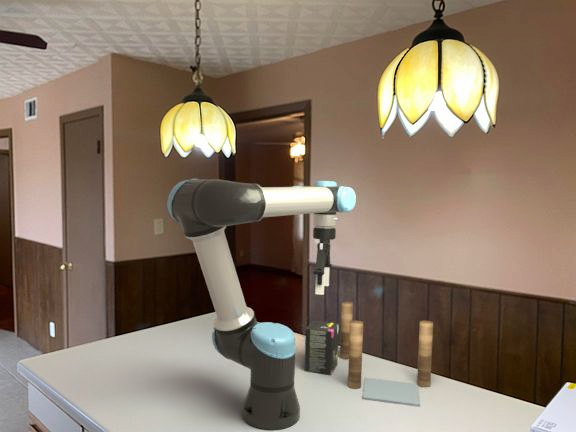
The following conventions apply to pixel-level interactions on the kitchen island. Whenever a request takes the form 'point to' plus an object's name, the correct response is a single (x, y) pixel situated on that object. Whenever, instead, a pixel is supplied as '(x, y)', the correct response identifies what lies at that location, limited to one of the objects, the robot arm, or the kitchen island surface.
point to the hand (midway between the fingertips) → (322, 289)
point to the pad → (391, 391)
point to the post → (425, 353)
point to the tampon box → (321, 347)
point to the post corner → (355, 354)
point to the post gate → (345, 329)
